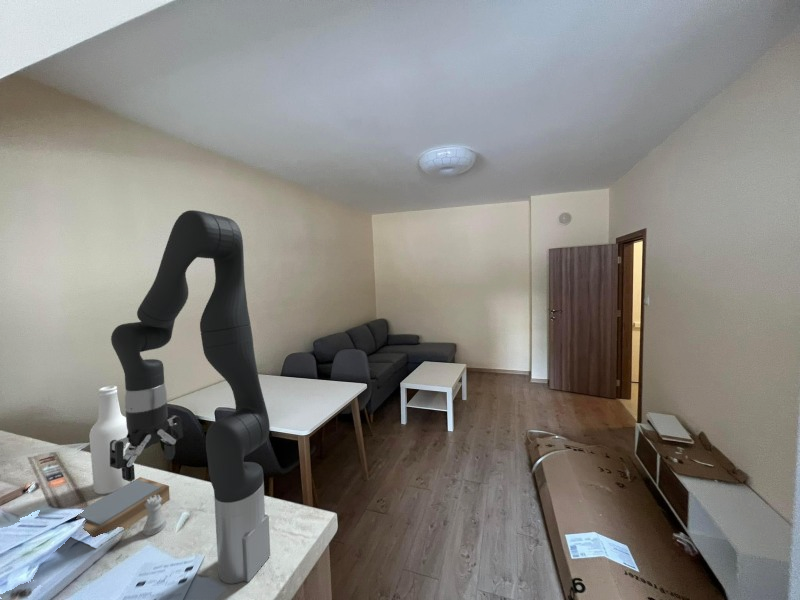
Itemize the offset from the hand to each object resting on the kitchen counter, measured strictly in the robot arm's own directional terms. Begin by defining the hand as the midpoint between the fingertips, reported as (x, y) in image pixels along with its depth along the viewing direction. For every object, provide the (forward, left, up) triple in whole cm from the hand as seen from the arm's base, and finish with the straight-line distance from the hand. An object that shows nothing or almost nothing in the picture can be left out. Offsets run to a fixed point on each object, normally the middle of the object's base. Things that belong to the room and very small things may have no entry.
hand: (150, 468), depth 71 cm
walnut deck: (+13, 0, -16) cm, 20 cm away
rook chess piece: (0, 0, -16) cm, 16 cm away
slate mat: (+13, 0, -12) cm, 17 cm away
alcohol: (+29, -7, -16) cm, 34 cm away
